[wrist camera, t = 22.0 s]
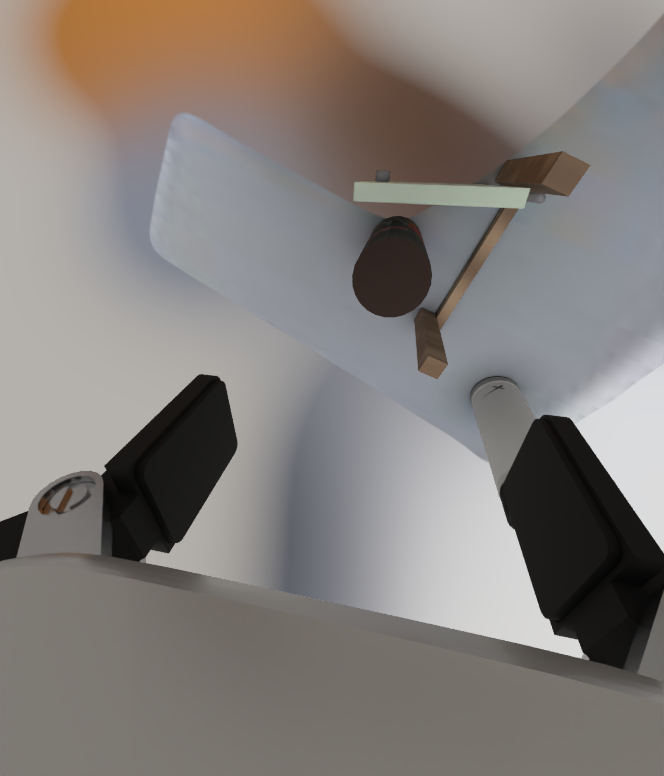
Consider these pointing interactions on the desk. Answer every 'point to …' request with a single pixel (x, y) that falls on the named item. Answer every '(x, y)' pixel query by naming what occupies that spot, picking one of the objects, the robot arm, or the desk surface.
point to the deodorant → (392, 269)
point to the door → (443, 193)
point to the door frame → (530, 172)
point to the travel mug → (501, 426)
